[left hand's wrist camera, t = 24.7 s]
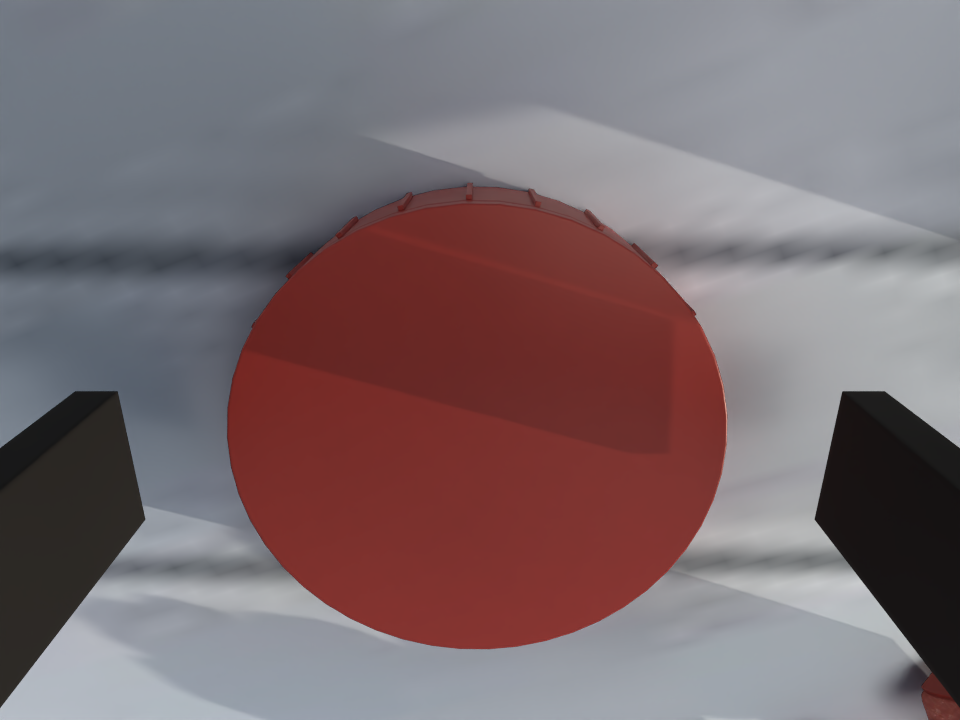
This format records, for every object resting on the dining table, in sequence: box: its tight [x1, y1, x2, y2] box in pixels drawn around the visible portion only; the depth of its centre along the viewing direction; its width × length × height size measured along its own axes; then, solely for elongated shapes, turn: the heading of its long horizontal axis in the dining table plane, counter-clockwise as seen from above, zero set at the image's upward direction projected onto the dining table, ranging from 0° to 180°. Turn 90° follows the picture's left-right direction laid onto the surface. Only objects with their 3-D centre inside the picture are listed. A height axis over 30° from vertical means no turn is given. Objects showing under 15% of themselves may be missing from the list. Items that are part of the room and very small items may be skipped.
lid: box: [227, 183, 727, 649], centre depth 15 cm, size 10×10×2 cm
